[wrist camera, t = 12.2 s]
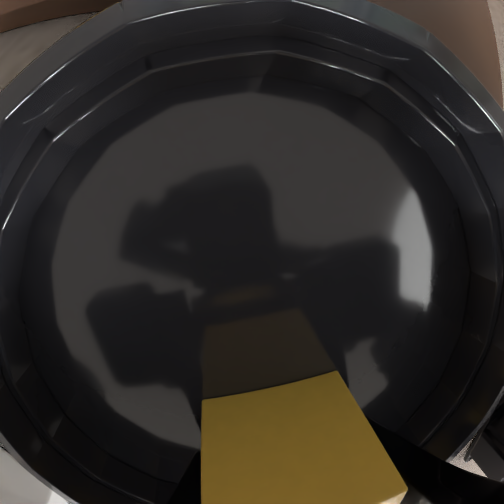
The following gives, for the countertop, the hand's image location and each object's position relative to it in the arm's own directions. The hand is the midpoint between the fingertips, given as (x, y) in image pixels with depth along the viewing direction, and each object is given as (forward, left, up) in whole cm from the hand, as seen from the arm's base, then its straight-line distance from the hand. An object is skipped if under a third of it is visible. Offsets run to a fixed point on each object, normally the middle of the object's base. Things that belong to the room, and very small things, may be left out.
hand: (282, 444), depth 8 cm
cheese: (0, 0, 0) cm, 0 cm away
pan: (0, -3, -1) cm, 3 cm away
